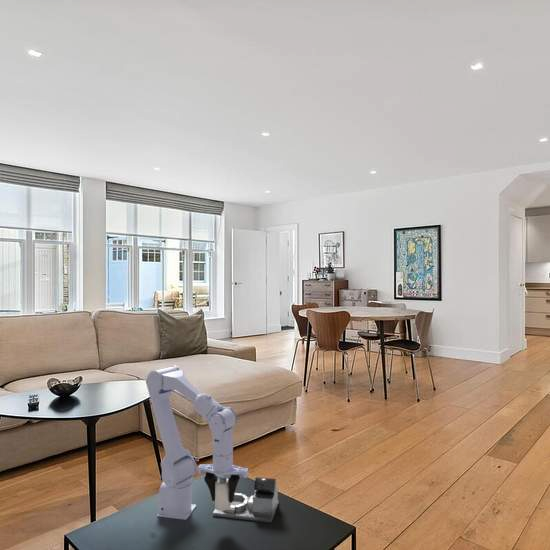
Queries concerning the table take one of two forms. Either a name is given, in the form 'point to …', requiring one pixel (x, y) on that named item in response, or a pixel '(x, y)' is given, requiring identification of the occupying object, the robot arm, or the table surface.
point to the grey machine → (254, 503)
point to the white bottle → (222, 494)
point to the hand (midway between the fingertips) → (222, 500)
